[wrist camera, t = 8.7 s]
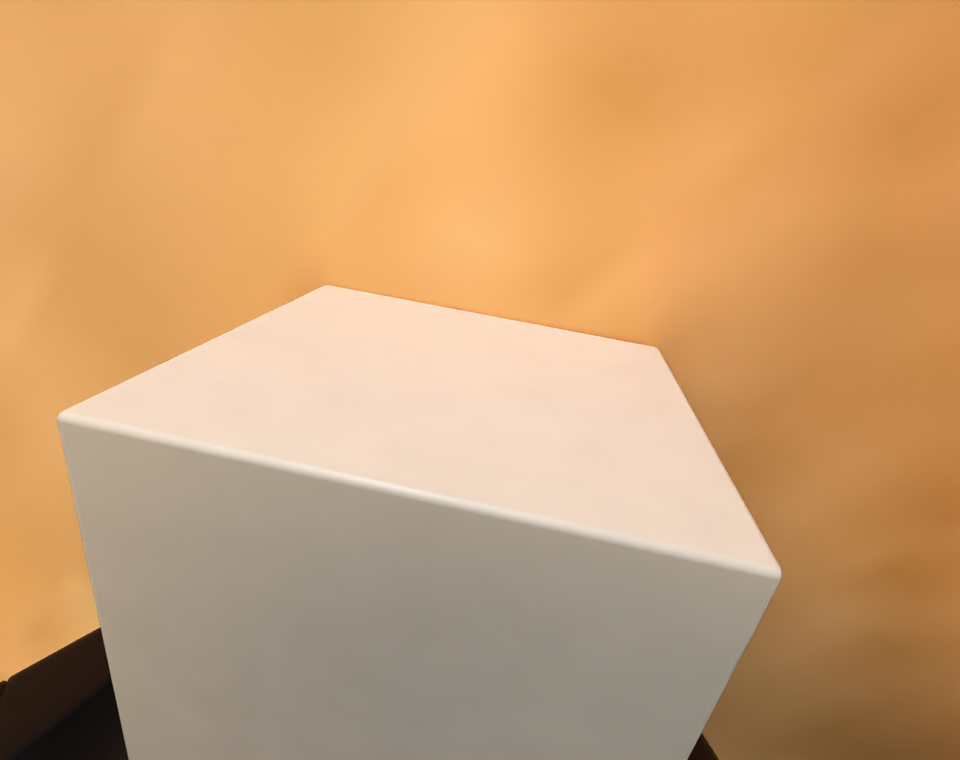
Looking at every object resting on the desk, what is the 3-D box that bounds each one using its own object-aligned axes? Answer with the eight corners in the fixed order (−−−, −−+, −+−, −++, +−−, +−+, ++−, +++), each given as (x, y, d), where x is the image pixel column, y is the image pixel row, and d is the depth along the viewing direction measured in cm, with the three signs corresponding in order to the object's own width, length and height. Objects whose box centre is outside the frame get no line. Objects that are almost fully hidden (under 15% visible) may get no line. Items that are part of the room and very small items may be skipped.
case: (324, 283, 8) (51, 413, 4) (659, 346, 8) (788, 574, 3) (312, 716, 13) (179, 1009, 8) (525, 771, 12) (506, 1111, 8)
